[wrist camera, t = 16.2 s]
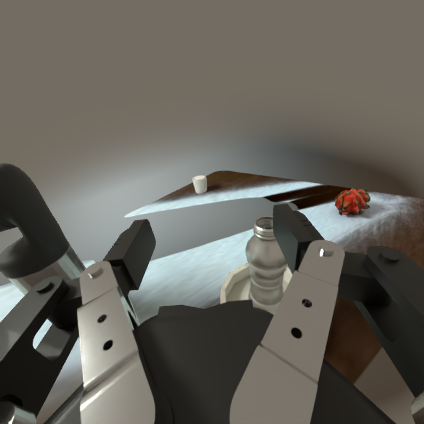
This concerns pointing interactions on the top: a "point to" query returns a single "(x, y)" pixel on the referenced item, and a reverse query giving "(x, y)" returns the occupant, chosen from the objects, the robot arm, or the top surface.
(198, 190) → the white cup
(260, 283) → the plastic bottle
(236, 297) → the bowl
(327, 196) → the top surface
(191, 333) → the robot arm
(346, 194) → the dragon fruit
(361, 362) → the top surface
